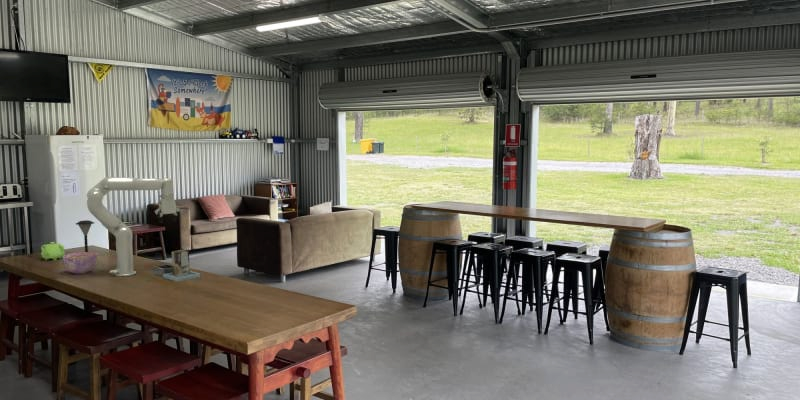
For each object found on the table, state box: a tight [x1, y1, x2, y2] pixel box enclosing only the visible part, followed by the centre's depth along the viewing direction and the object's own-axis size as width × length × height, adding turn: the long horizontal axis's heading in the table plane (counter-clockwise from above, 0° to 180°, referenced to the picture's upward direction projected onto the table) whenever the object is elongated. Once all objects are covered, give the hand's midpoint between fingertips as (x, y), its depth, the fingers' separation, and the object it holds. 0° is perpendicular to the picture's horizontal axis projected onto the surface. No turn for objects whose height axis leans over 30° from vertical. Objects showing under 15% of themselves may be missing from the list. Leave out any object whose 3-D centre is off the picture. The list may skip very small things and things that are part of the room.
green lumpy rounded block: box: [40, 241, 66, 261], centre depth 415 cm, size 16×14×13 cm
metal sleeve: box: [153, 263, 173, 277], centre depth 368 cm, size 10×13×5 cm
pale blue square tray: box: [162, 270, 201, 283], centre depth 358 cm, size 16×16×2 cm
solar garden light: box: [75, 219, 95, 252], centre depth 402 cm, size 12×12×30 cm
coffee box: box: [171, 249, 191, 277], centre depth 357 cm, size 9×6×16 cm
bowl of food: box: [62, 251, 98, 275], centre depth 372 cm, size 20×20×12 cm
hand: (167, 222), depth 379 cm, fingers open, 9 cm apart
